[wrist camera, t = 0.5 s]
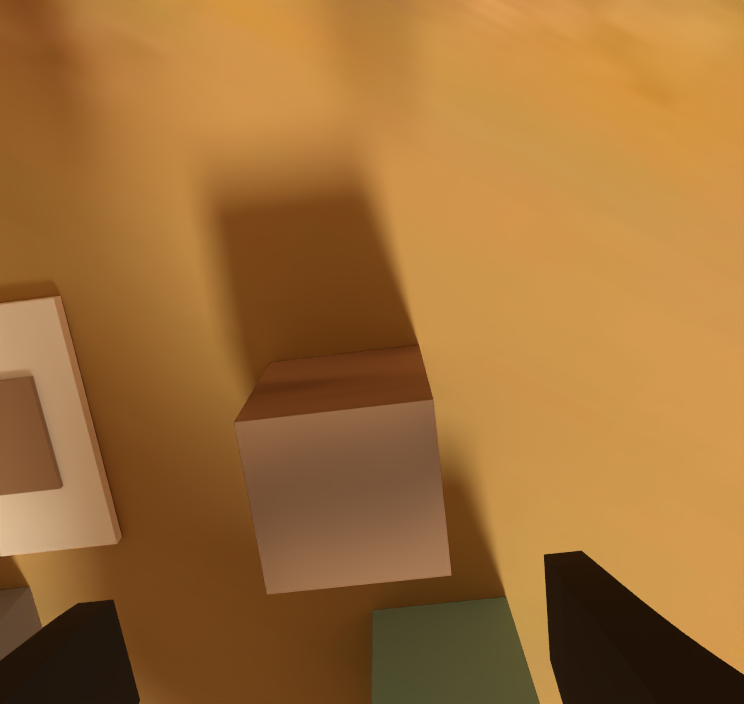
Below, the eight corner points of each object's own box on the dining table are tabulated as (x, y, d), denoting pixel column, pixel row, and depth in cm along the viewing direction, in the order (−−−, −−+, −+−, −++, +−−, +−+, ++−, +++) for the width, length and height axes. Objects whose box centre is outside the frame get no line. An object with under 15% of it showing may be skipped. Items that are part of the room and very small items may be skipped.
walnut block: (433, 480, 20) (451, 575, 15) (293, 495, 20) (267, 594, 15) (418, 343, 19) (433, 399, 14) (270, 361, 19) (234, 422, 14)
